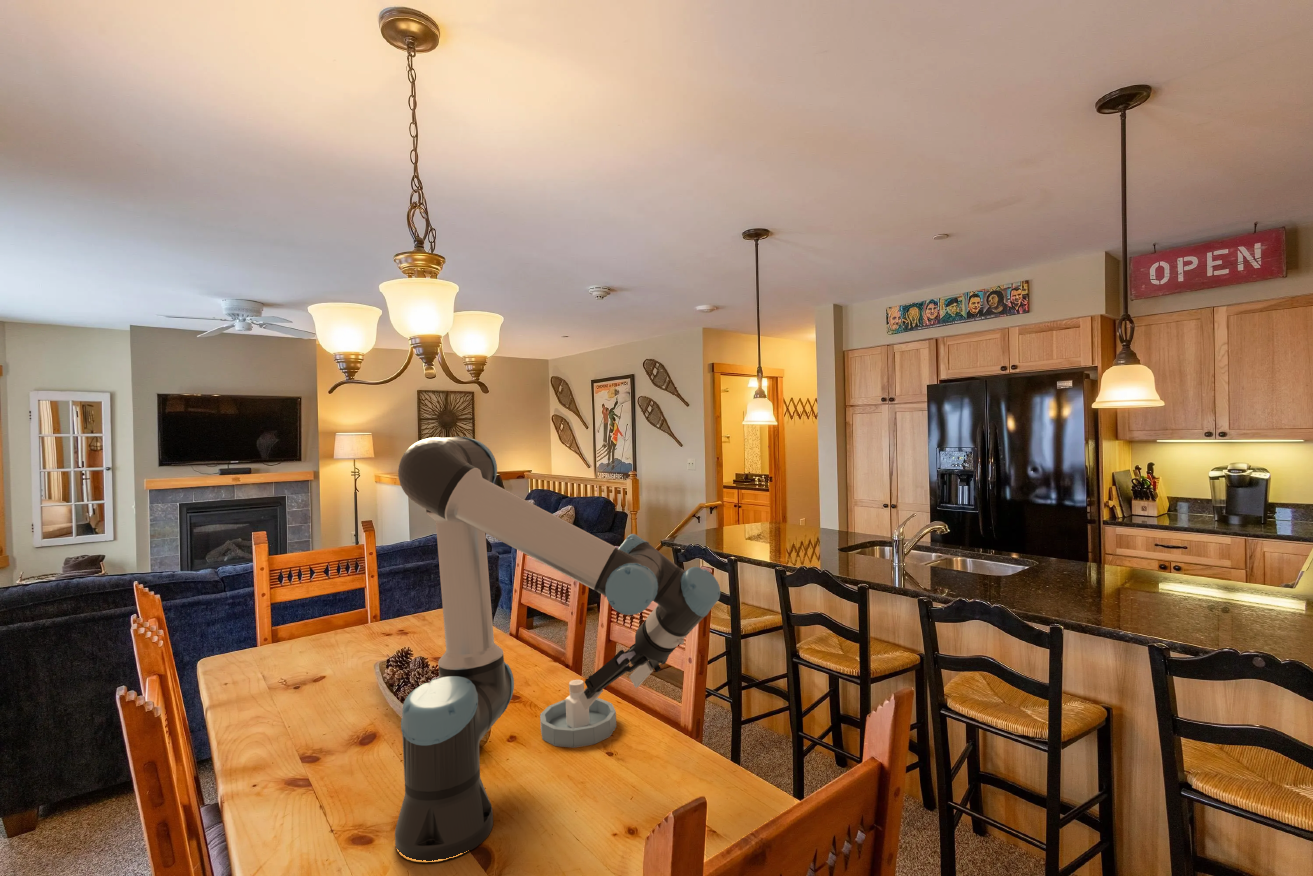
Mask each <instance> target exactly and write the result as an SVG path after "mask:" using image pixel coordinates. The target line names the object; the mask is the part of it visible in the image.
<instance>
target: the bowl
mask: <svg viewBox="0 0 1313 876" xmlns="http://www.w3.org/2000/svg"><path fill="white" fill-rule="evenodd" d="M539 715H540V716H539V718H540V720H539V721H540V733H541V737H542V740H543V741H544V742H546V743H549V744H550V745H551V746H554V747H561V748H564V747H565V748H571V749H572V748H574V749H575V748H580V747H587V746H592V745H596V744H597V743H600V742H602V741H604V740H606V739H608V738H610V737H611V736H612V734H613V733H614V732H613V731H616V729H617V712H616V709H615V707H614V705H613V703H611V702H610V701H607V700H606V699H605V700H604V699H602V698H599V697H598V698H597V699H596V700H595V701H594V702H593V703H592V705H591V706H590V707H589V721H590V723H589V725H588V726H586V727H579V728H571V727H569V726H568V725H567V722H566V699H563V700H560V701H557V702H555V703H553V704H552V703H551V705H548V706H547V707H546V708H545V709H544V710H543V711H542V712H541V713H540V714H539ZM615 728H616V729H615Z"/></svg>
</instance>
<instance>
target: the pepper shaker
mask: <svg viewBox="0 0 1313 876" xmlns="http://www.w3.org/2000/svg"><path fill="white" fill-rule="evenodd" d="M568 689H569V690H568V691H569V695H568V696H567V697H566V698H565V700H566V722H567V725H568V726H569V727H571V728H579V727H586V726H588V725H589V723H590V721H589V708H588V709H586V710H585V709H584V707H583V705H582V703H581V701H580V699H579V696H580V695H581V694H582V692H583V691H584V690H585V681H584V680H582V679H572V680H570V681H569V682H568Z"/></svg>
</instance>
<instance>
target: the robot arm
mask: <svg viewBox="0 0 1313 876" xmlns="http://www.w3.org/2000/svg"><path fill="white" fill-rule="evenodd" d="M397 472H398V473H397V474H398V476H397V477H398V481H399V484H400V487H401V489H402V491H403V493H405V495H406V496H407V497H408V498H409V499H410V500H411V501H413V503H415V504H417V505H418V506H420V507H422V508H424V509H425V513H426V514H427V516H428V517H430V518H431V519H432V520H434V522H435V529H436V539H437V540H436V541H437V554H438V562H439V563H438V564H439V567H438V568H439V577H440V589H441V591H440V593H441V603H442V615H443V616H442V617H443V627H444V641H445V652H444V653H443V654H442V656H441V657H440V658H439V659H438V663H437V664H438V675H439V677H437V678H434V679H432V680H430V682H424V683H423V684H421V685H419V686H417V687H416V688H415V689H413V690H412V691H411V692H410V693H409V694H408V695H407V696H406V698H405V700H404V702H403V704H402V713H401V720H400V727H401V728H400V729H401V733H402V734H401V735H402V736H401V737H402V738H401V739H402V752H403V753H402V754H403V773H404V774H403V775H404V778H403V779H404V797H403V800H402V803H401V807H400V811H399V814H398V818H397V822H396V824H395V825H396V826H395V829H394V842H395V845H396V846H395V849H396V848H397V849H398V850H399V852H401V853H402V854H403V855H405V856H406V857H409V858H412V859H416V860H422V861H423V860H426V861H432V860H433V861H434V860H438V859H446V858H449V857H453V856H456V855H458V854H460V853H464V852H466V851H468V850H471V851H472V850H474V849H476V848H477V847H478V846H480V845H481V844H482V843H483V842H484V841H485V840H486V839H487V838H488V836H489V835H490V834H491V831H492V829H493V827H494V815H493V814H494V812H493V807H492V806H493V805H492V803H491V801H490V799H489V796H488V793H487V791H486V789H485V785H484V783H483V782H482V778H481V770H480V769H481V765H480V763H481V762H480V742H481V740H483V738H484V737H485V735H486V734H487V733H488V732H489V731H490V729H491V728H492V727H493V726H494V725H495V724H496V722H497V721H498V719H499V718H501V716H502V715H503V714H504V713H505V712H506V710H507V708H508V706H509V705H510V702H511V700H512V698H513V694H514V691H515V679H514V675H513V674H514V673H513V672H512V669H511V667H510V665H509V664H508V663H506V662H505V658H504V650H503V648H501V646H499V645H498V644H496V643H495V637H494V635H495V634H494V625H493V624H494V623H493V614H492V613H493V611H492V601H491V600H492V598H491V588H490V586H491V585H490V576H489V575H490V573H489V562H488V551H487V550H488V549H487V539H486V537H487V536H486V535H489V536H491V537H492V538H495V539H496V540H498V541H500V542H502V543H504V544H506V545H507V546H509V547H511V548H513V549H515V550H518V552H519V551H520V552H521V553H523V554H524V555H527V556H528V557H531V558H533V559H535V560H536V561H538V562H540V563H542V564H543V565H545V566H547V567H550V568H552V569H553V570H555V571H557V572H559V573H561V574H563V575H565V576H567V577H569V578H571V579H572V580H574V581H576V582H578V583H580V584H581V585H584V586H585V587H588V589H589V588H590V589H592V590H594V591H595V592H597V593H598V594H600V595H603V596H604V597H606V600H607V601H608V603H609V604H608V605H610V607H611V608H612V609H613V610H615V611H616V612H617V613H620V614H622V615H625V616H626V615H627V616H633V615H637V614H640V613H642V612H644V611H645V610H646V609H647V608H649V606H650V605H651V604H652V602H654V603H655V604H657V606H655V608H654V609H653V610H652V611H651V612H650V613H649V615H648V616H647V617H646V619H645V620H644V621H643V622H642V623H641V625H640V626H639V627H638V628H637V630H636V631H635V634H634V635H635V637H634V638H635V639H634V640H635V641H634V643H633V644H632V645H631V646H630V647H629V649H627V650H626V651H624V650H623V649H620V650H619V651H618V652H617V653H616V654H615V655H614V657H612V658H611V659H609V661H608V662H606V663H605V664H604V665H603V666H601V667H600V668H599V669H598V670H596V671H595V672H594V673H592V674H591V675H589V676H588V678H586V679H585V681H584V685H585V686H586V688H584V691H583V692H582V694H581V695H580V696H579V699H580V701H581V703H582V705H583V707H584V709H585V710H586V709H588V708H589V707H590V706H591V705H592V703H593V702H594V701H595V700H596V699H597V698H599V697H600V696H601V695H602V693H603V692H604V689H605V688H606V687H607V686H609V685H610V684H612V683H613V682H615V681H616V680H618V679H619V678H620V677H622V676H623V675H625V674H626V673H631V674H630V675H629V677H628V678H629V679H630V681H631V683H632V684H633V686H634V688H635V689H637V688H639V687H640V686H641V684H642V683H643V682H644V681H645V680H646V679H647V678H648V677H649V676H650V675H651V674H652V673H653V672H654V671H655V673H658V672H659V671H661V669H662V668H661V665H665V664H666V662H668V659H669V657H670V655H671V654H672V653H673V652H674V651H675V650H676V648H677V647H678V645H683V644H684V643H685V640H684V639H685V638H687V636H688V634H690V633H691V632H692V630H693V629H694V628H695V627H696V626H698V624H699V623H700V622H702V620H703V619H704V618H705V617H707V616H708V614H709V613H710V611H711V610H712V609H713V608H714V606H715V605H716V603H717V602H718V601H719V600H720V597H721V587H720V584H719V582H718V580H717V578H716V577H715V576H714V575H713V573H711V572H710V571H708V570H707V569H702V568H701V567H699V566H692V567H689V568H687V570H684V569H683V568H681V567H680V566H678V565H677V564H676V563H674V562H673V561H672V560H670V559H669V558H668V557H667V556H665V555H664V554H663V553H661V552H660V550H658V549H656V548H655V547H654V546H652V545H651V543H650V542H649V541H647V540H645V539H643V538H641V537H640V536H639V535H638V534H636V533H631V534H629V535H627V536H626V538H625V539H624V541H623V542H622V543H621V544H620V546H619V547H618V548H617V547H616V546H615V545H613V544H611V543H610V542H607V541H605V540H603V539H601V538H599V537H597V536H595V535H593V534H591V533H590V532H587V531H586V530H584V529H582V528H580V527H578V526H576V525H574V524H573V523H570V522H569V521H566V520H564V519H563V518H560V517H558V516H557V515H554V514H553V513H551V512H549V511H547V510H545V509H543V508H541V507H540V506H537V505H536V504H534V503H532V502H530V501H528V500H526V499H525V498H522V497H520V496H518V495H517V494H514V493H512V492H511V491H508V490H506V489H505V488H503V487H501V486H499V485H497V484H495V481H496V480H497V479H496V478H497V475H498V464H497V460H496V458H495V455H494V454H493V452H492V451H491V449H490V448H489V447H488V446H487V445H486V444H484V443H483V442H481V441H480V440H477V439H475V438H471V437H467V436H453V437H452V436H451V437H428V438H424V439H421V440H418V441H416V442H414V443H412V445H411V446H409V447H408V449H407V450H406V451H405V452H404V453H403V454H402V456H401V459H400V461H399V465H398V470H397ZM630 664H631V666H630ZM660 664H661V665H660Z"/></svg>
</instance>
